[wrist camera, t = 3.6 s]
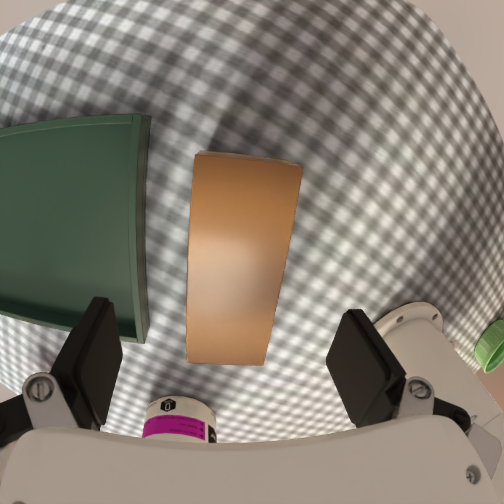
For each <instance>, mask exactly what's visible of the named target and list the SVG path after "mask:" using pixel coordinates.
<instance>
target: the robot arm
mask: <svg viewBox="0 0 504 504" xmlns="http://www.w3.org/2000/svg"><path fill="white" fill-rule="evenodd" d="M442 329H443V319H442V316H441V314H440V312H439V311H438V310H437V309H436V308H435V307H434V306H433V305H431V304H430V303H426V302H414V303H410V304H406V305H404V306H401V307H399V308H397V309H395V310H393V311H392V312H390V313H388V314H387V315H385V316H384V317H383V318H381V319H380V320H378V321H377V322H376V323H375V324H374V325H373V324H372V323H371V321H370V320H369V318H368V317H367V316H366V314H365V313H364V311H363V310H362V309H349V310H348V311H347V312H346V313H344V314H343V316H342V319H341V321H340V324H339V327H338V329H337V332H336V335H335V337H334V340H333V342H332V345H331V347H330V350H329V352H328V355H327V357H326V365H327V367H328V370H329V372H330V374H331V376H332V379H333V381H334V383H335V386H336V388H337V390H338V392H339V395H340V397H341V399H342V402H343V404H344V406H345V409H346V411H347V413H348V416H349V418H350V420H351V422H352V423H353V424H355V425H356V429H352V430H347V431H342V432H337V433H331V434H326V435H319V436H313V437H306V438H298V439H289V440H279V441H267V442H251V443H193V442H177V441H165V440H155V439H147V438H138V437H131V436H124V435H118V434H112V433H107V432H100V427H101V425H105V423H106V419H107V415H108V410H109V406H110V402H111V398H112V394H113V391H114V387H115V383H116V379H117V376H118V372H119V369H120V365H121V362H122V357H123V352H122V347H121V342H120V337H119V332H118V327H117V321H116V316H115V310H114V304H113V302H110V301H109V298H106V297H98V296H94V297H93V299H92V301H91V302H90V304H89V306H88V308H87V309H86V311H85V313H84V315H83V316H82V318H81V320H80V322H79V324H78V325H77V326H75V327H73V329H72V330H71V332H70V334H69V336H68V337H67V339H66V341H65V343H64V345H63V347H62V349H61V351H60V353H59V355H58V357H57V359H56V361H55V363H54V365H53V367H52V369H51V371H50V373H49V374H48V373H43V372H39V373H35V374H33V375H31V376H29V377H28V378H27V379H26V380H25V382H24V384H23V387H22V393H23V394H21V395H18V396H16V397H14V398H11V399H9V400H7V401H4V402H2V403H0V504H504V413H503V411H502V410H501V408H500V407H499V406H498V404H497V403H496V402H495V400H494V399H493V397H492V396H491V395H490V393H489V392H488V391H487V389H486V388H485V387H484V386H483V384H482V383H481V382H480V380H479V379H478V378H477V377H476V375H475V374H474V373H473V371H472V370H471V369H470V368H469V366H468V365H467V364H466V363H465V362H464V360H463V359H462V358H461V357H460V356H459V354H458V353H457V352H456V350H458V349H459V346H460V343H459V341H458V340H454V341H449V340H448V339H447V338H446V337H445V336H444V335H443V334H442ZM94 430H95V431H94Z"/></svg>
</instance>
